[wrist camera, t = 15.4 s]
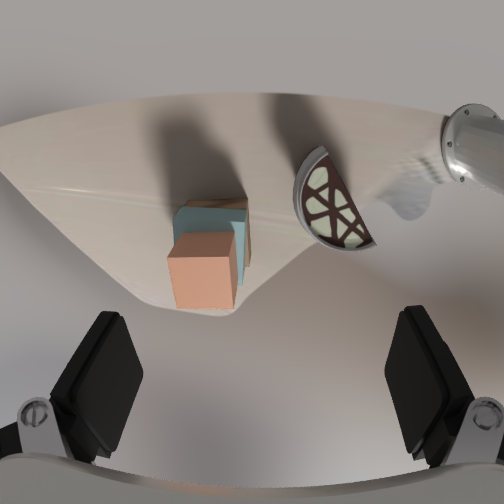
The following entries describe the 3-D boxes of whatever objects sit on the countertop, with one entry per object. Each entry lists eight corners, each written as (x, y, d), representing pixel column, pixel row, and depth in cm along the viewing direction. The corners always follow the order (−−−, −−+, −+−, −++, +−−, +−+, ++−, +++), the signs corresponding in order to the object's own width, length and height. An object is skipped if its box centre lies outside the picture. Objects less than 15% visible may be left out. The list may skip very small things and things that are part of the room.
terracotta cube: (234, 231, 35) (228, 256, 30) (238, 278, 38) (233, 308, 33) (181, 232, 36) (166, 257, 30) (188, 278, 38) (176, 308, 33)
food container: (269, 160, 39) (269, 180, 30) (312, 136, 37) (325, 147, 28) (317, 237, 44) (329, 275, 35) (356, 216, 42) (378, 249, 33)
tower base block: (247, 197, 42) (245, 207, 38) (251, 252, 45) (249, 266, 42) (188, 200, 42) (180, 210, 39) (195, 253, 46) (189, 267, 42)
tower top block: (247, 209, 38) (244, 222, 35) (244, 268, 42) (242, 285, 38) (181, 206, 39) (172, 218, 35) (184, 264, 42) (176, 280, 39)
